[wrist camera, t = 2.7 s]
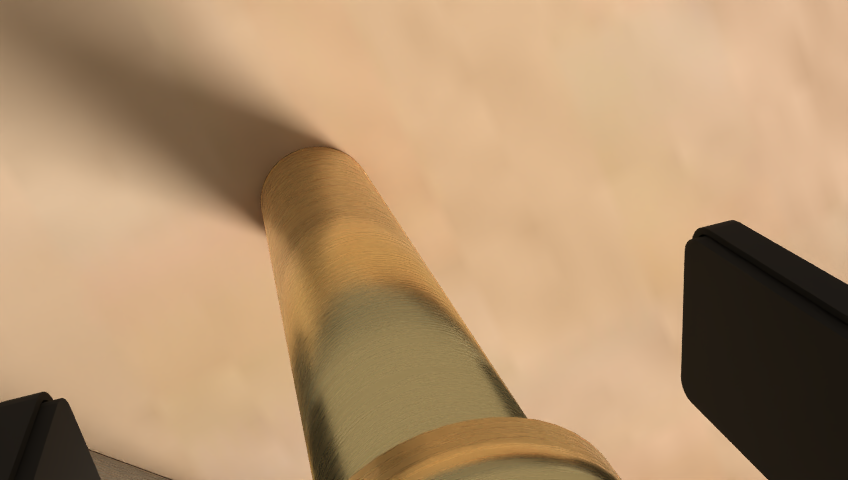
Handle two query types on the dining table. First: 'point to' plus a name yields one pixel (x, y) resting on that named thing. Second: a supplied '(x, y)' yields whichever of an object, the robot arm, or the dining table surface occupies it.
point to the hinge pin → (390, 346)
